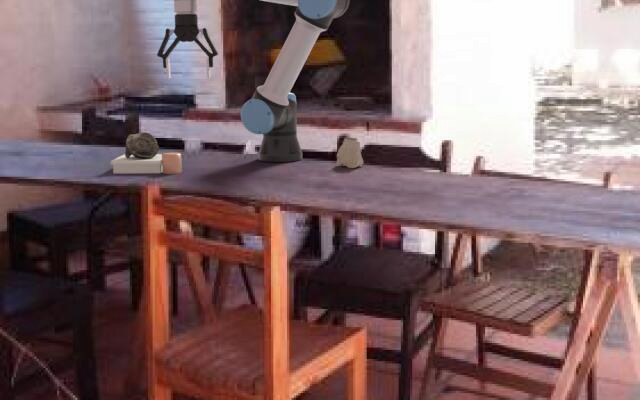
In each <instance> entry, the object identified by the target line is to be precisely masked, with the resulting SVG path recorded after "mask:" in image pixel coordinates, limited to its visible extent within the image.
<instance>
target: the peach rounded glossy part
mask: <svg viewBox="0 0 640 400" xmlns="http://www.w3.org/2000/svg"><path fill="white" fill-rule="evenodd" d="M161 154H162V169H163V172H162V174H165V175H175V174H176V175H177V174H181V173H183V171H182V169H183V168H182V166H183V165H182V153H181V152H164V153H161Z"/></svg>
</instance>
